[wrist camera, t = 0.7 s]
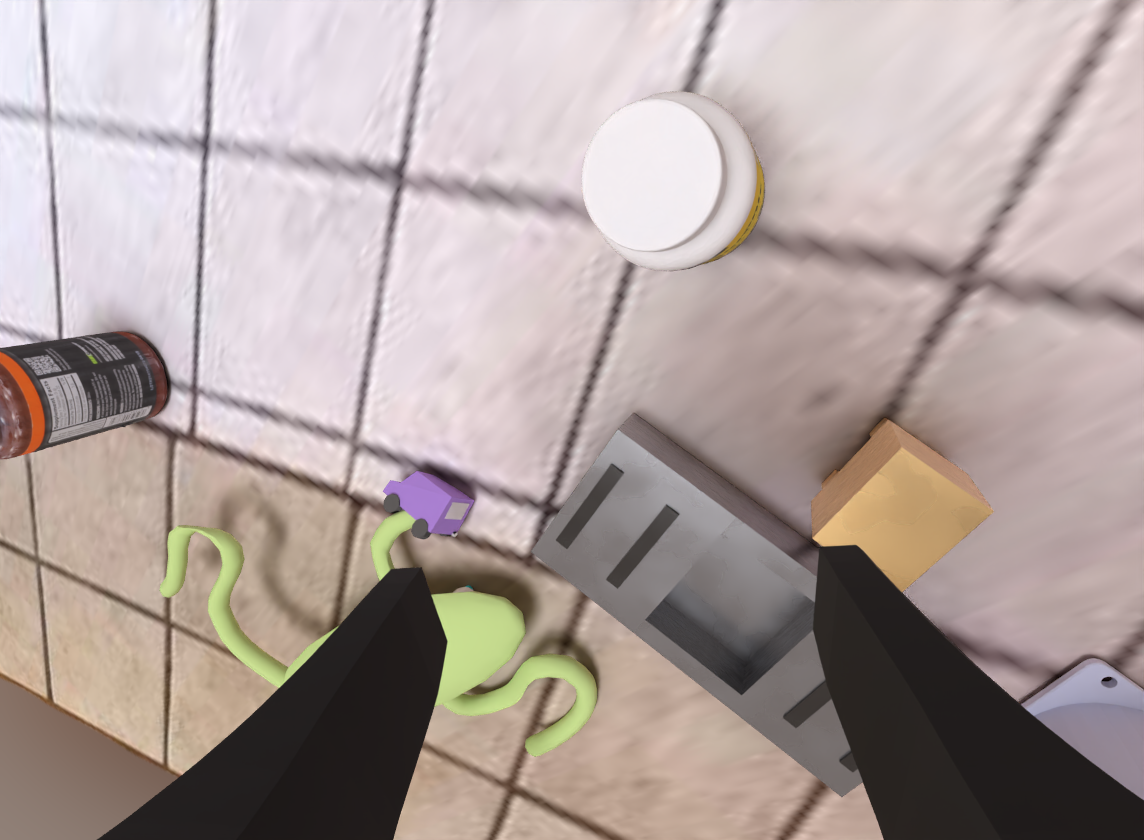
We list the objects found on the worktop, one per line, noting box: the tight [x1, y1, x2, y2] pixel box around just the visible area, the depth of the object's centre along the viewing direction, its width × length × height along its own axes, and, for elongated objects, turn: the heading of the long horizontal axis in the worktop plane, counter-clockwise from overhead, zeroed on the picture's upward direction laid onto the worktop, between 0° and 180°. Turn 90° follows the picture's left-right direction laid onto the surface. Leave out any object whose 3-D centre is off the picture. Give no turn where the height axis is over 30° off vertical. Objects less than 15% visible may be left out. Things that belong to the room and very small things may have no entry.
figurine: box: [160, 471, 597, 757], centre depth 36 cm, size 18×27×6 cm
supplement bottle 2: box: [581, 91, 765, 271], centre depth 21 cm, size 5×5×10 cm
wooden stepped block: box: [811, 417, 994, 592], centre depth 24 cm, size 4×4×6 cm
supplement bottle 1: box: [0, 332, 167, 459], centre depth 35 cm, size 6×6×11 cm
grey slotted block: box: [531, 413, 863, 797], centre depth 28 cm, size 18×8×3 cm, turn 59°
